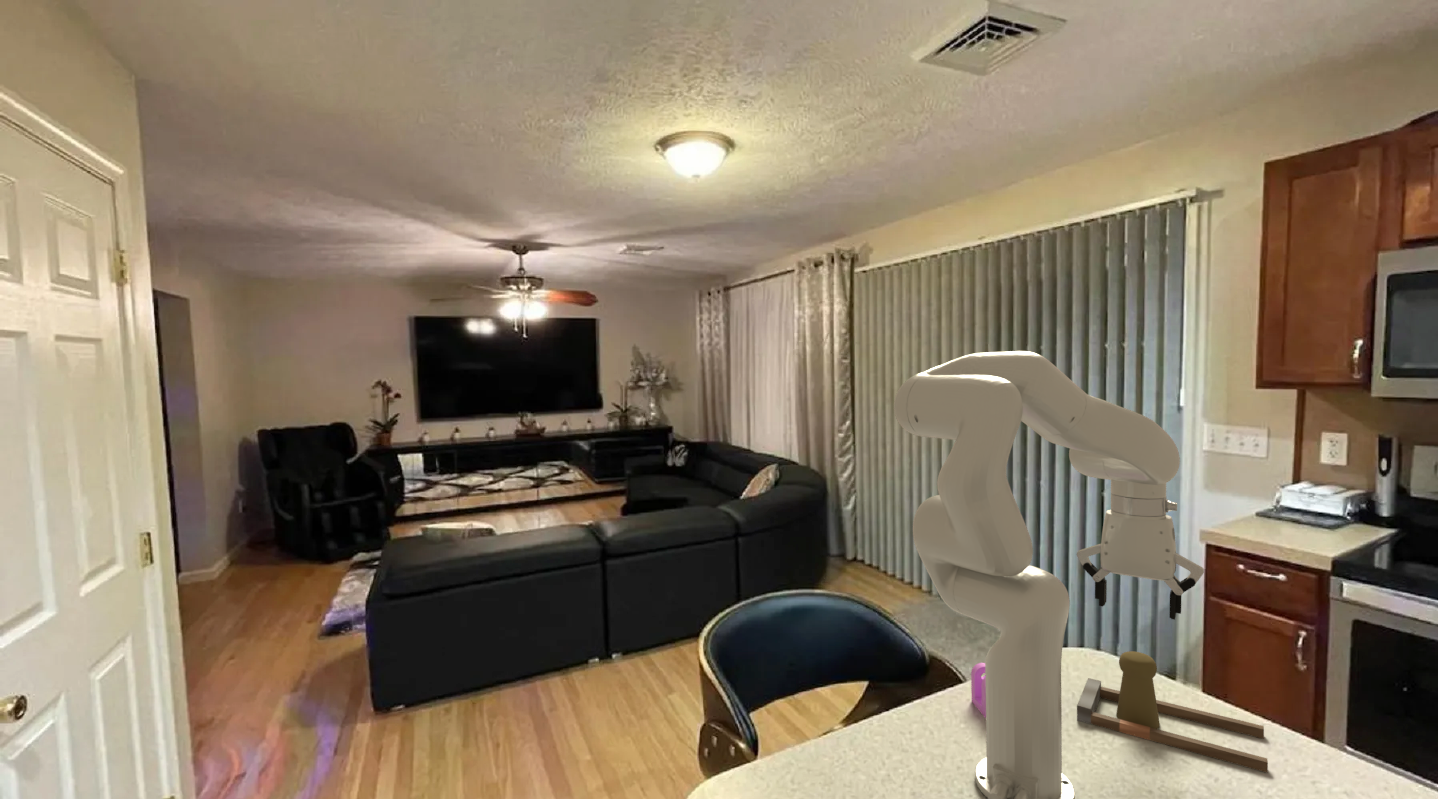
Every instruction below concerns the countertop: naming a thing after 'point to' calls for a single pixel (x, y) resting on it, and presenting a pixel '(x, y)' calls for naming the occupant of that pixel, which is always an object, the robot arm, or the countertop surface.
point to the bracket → (979, 687)
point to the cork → (1138, 690)
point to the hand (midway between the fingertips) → (1136, 610)
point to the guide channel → (1088, 715)
